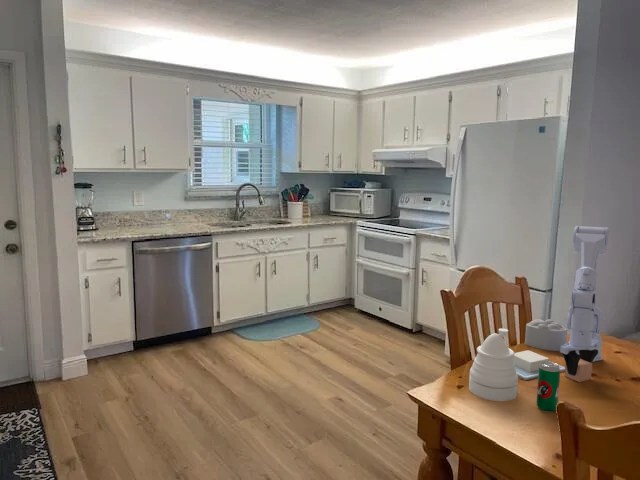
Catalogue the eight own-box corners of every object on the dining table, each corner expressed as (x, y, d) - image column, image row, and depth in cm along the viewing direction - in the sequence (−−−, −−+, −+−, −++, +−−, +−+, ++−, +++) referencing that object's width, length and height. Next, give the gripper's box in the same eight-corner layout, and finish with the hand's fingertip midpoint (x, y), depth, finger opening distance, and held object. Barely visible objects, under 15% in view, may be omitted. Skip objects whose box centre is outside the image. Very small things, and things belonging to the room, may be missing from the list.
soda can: (559, 413, 125) (563, 369, 123) (538, 411, 126) (541, 367, 124) (554, 404, 130) (557, 361, 128) (534, 402, 131) (537, 360, 129)
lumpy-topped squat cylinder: (532, 337, 183) (534, 315, 182) (570, 345, 175) (571, 322, 173) (522, 344, 176) (523, 321, 175) (560, 353, 167) (562, 329, 166)
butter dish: (531, 355, 165) (531, 345, 165) (567, 370, 153) (568, 359, 152) (491, 363, 158) (491, 353, 157) (525, 380, 145) (526, 368, 145)
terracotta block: (575, 373, 151) (577, 357, 150) (590, 379, 146) (592, 363, 145) (564, 375, 148) (565, 360, 148) (579, 382, 144) (580, 365, 143)
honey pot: (515, 384, 142) (519, 324, 140) (518, 404, 130) (522, 339, 128) (469, 378, 146) (472, 320, 144) (468, 396, 134) (470, 333, 132)
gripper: (576, 336, 139) (573, 382, 140) (610, 330, 145) (606, 373, 147) (555, 329, 145) (552, 373, 147) (588, 323, 151) (585, 365, 153)
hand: (578, 372), depth 147 cm, fingers closed on terracotta block, 5 cm apart
